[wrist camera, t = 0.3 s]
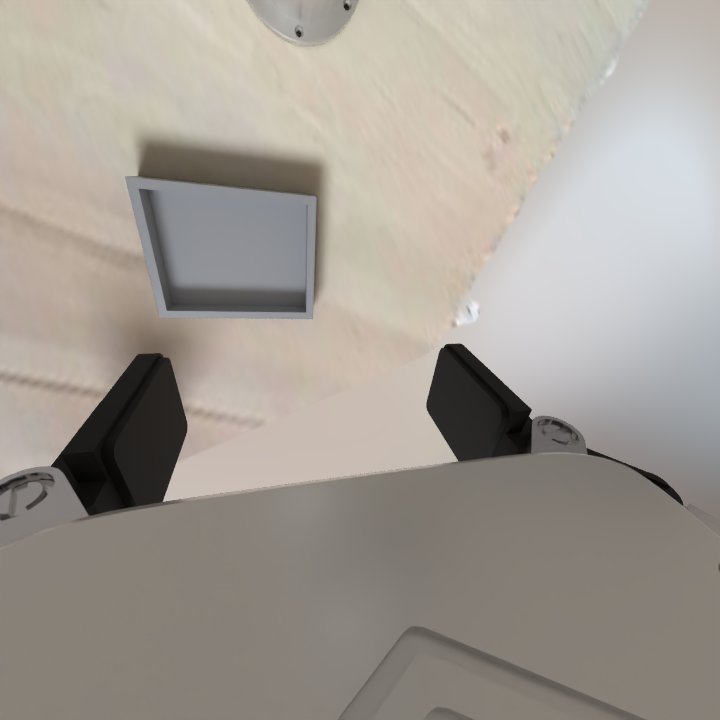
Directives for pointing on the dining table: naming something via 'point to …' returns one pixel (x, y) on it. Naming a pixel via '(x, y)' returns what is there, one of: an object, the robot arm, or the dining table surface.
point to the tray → (226, 249)
